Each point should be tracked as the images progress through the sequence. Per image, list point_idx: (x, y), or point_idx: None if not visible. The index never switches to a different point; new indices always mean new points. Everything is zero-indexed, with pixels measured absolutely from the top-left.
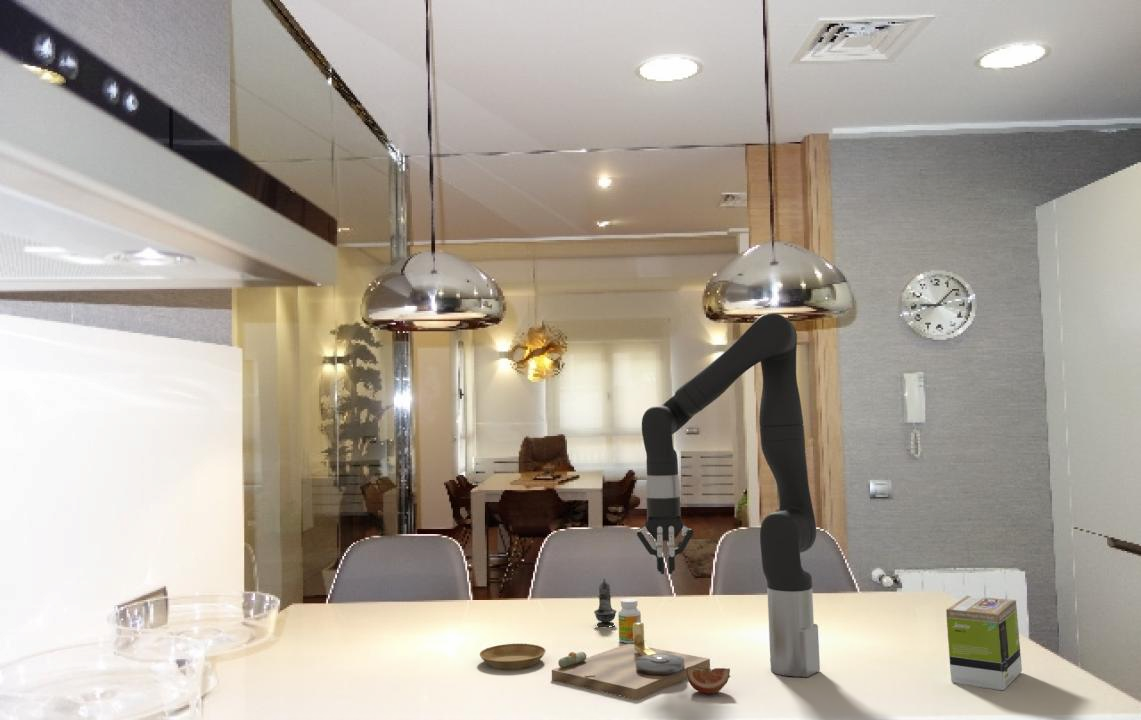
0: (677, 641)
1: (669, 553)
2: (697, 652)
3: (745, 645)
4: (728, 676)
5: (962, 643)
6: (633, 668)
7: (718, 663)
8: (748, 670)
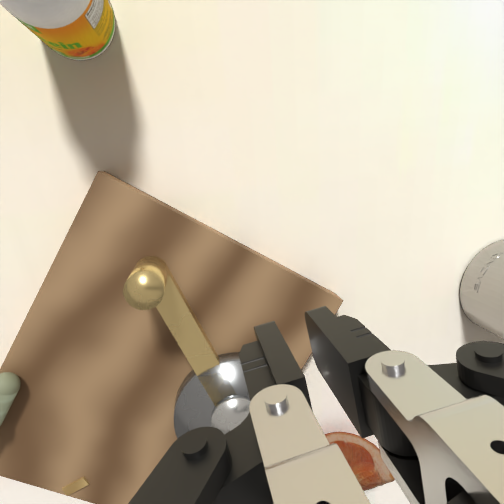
0: (236, 19)
1: (388, 465)
2: (302, 150)
3: (429, 61)
4: (384, 483)
5: None
6: (168, 410)
7: (353, 248)
8: (414, 294)
